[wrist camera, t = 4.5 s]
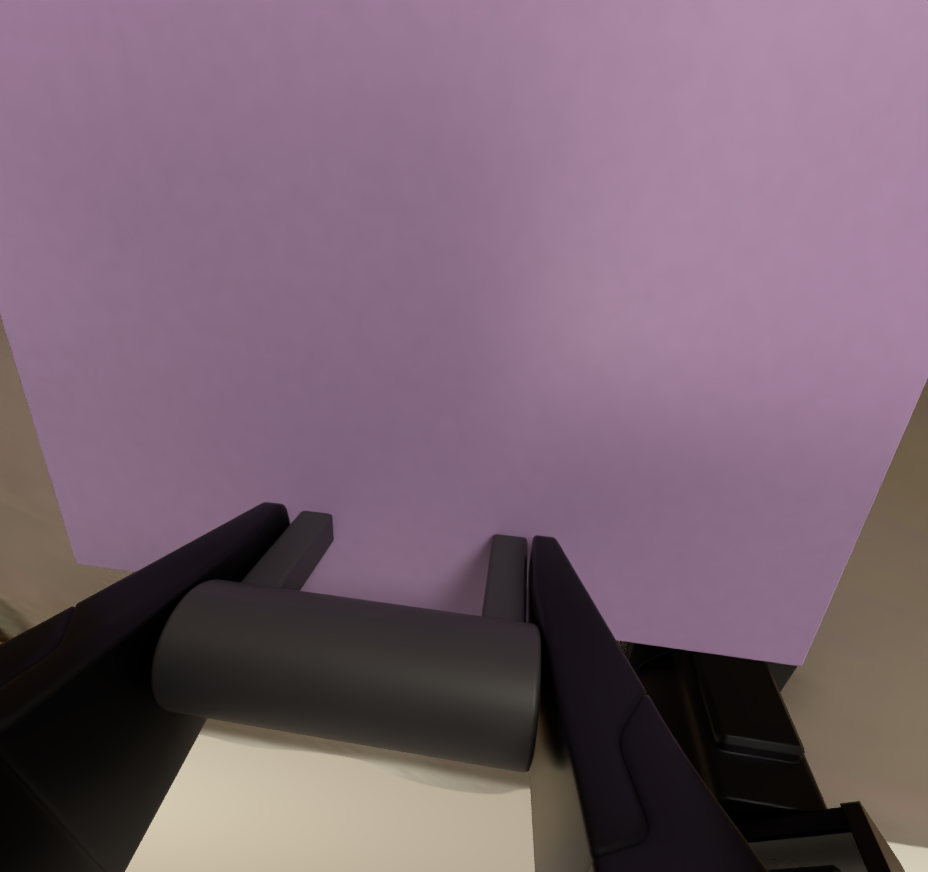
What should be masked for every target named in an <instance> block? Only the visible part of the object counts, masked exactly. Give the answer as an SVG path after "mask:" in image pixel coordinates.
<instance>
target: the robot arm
mask: <svg viewBox="0 0 928 872" xmlns="http://www.w3.org/2000/svg"><path fill="white" fill-rule="evenodd" d="M289 525H290V521H289V516H288V511H287V508H286V506H285V505H283V504H280V503H272V502H264V503H261V504H259V505H257V506H255V507H254V508H252V509H250V510H248V511H246V512H244V513H243V514H241V515H239V516H237V517H235V518H233V519H232V520H230V521H228V522H226V523H224V524H222V525H221V526H219V527H217V528H215V529H213V530H211V531H210V532H208V533H206V534H204V535H202V536H200V537H199V538H197V539H195V540H193V541H191V542H189V543H188V544H186V545H184V546H182V547H180V548H178V549H177V550H175V551H173V552H171V553H169V554H167V555H166V556H164V557H162V558H160V559H158V560H156V561H155V562H153V563H151V564H149V565H147V566H145V567H144V568H142V569H140V570H138V571H136V572H134V573H133V574H131V575H129V576H127V577H125V578H123V579H122V580H120V581H118V582H116V583H114V584H112V585H111V586H109V587H107V588H105V589H103V590H101V591H100V592H98V593H96V594H94V595H92V596H90V597H89V598H87V599H85V600H83V601H81V602H79V603H78V604H77V605H76V607H70V608H68V609H66V610H65V611H63V612H61V613H59V614H57V615H55V616H54V617H52V618H50V619H48V620H46V621H44V622H42V623H40V624H39V625H37V626H35V627H33V628H31V629H29V630H27V631H25V632H23V633H22V634H20V635H18V636H16V637H14V638H12V639H10V640H8V641H6V642H4V643H2V644H0V872H125V870H126V868H127V867H128V865H129V863H130V861H131V859H132V857H133V855H134V854H135V851H136V850H137V848H138V846H139V844H140V842H141V841H142V839H143V837H144V835H145V833H146V831H147V829H148V828H149V825H150V824H151V822H152V820H153V818H154V816H155V814H156V813H157V811H158V809H159V807H160V805H161V803H162V802H163V800H164V798H165V796H166V794H167V792H168V790H169V788H170V787H171V785H172V783H173V781H174V779H175V777H176V776H177V774H178V772H179V770H180V768H181V766H182V764H183V763H184V761H185V759H186V757H187V755H188V753H189V751H190V750H191V748H192V746H193V744H194V742H195V740H196V738H197V737H198V735H199V733H200V731H201V729H202V727H203V725H204V724H205V722H206V720H207V718H204V717H198V716H193V715H187V714H181V713H175V712H169V711H167V710H165V709H163V708H162V707H161V706H160V705H159V704H158V703H157V702H156V700H155V698H154V695H153V692H152V687H151V669H152V662H153V657H154V653H155V649H156V646H157V643H158V640H159V638H160V635H161V632H162V630H163V628H164V626H165V624H166V622H167V620H168V618H169V617H170V615H171V613H172V612H173V610H174V609H175V607H176V606H177V605H178V603H179V602H180V601H181V600H182V598H183V597H184V596H185V595H186V594H187V593H188V592H189V591H190V590H191V589H193V588H194V587H196V586H197V585H199V584H201V583H203V582H205V581H209V580H213V579H220V580H227V581H234V582H241V580H242V579H243V578H244V577H245V576H246V575H247V574H248V572H249V571H250V570H251V569H252V568H253V567H254V565H255V564H256V563H257V562H258V561H259V560H260V559H261V557H262V556H263V555H264V554H265V553H266V552H267V550H268V549H269V548H270V547H271V546H272V545H273V544H274V542H275V541H276V540H277V539H278V538H279V537H280V535H281V534H282V533H283V532H284V531H285V530H286V529H287V527H288V526H289ZM526 623H533V624H535V625H536V626H538V628H539V632H540V637H541V686H540V704H539V717H538V728H537V737H536V745H535V752H534V757H533V762H532V765H531V767H530V769H529V771H530V789H531V805H532V824H533V841H534V858H535V859H534V860H535V872H905V871H904V869H903V867H902V865H901V864H900V862H899V860H898V859H897V857H896V856H895V854H894V853H893V851H892V850H891V848H890V847H889V845H888V844H887V842H886V841H885V839H884V838H883V836H882V835H881V833H880V831H879V830H878V828H877V827H876V825H875V824H874V822H873V821H872V819H871V818H870V816H869V815H868V813H867V812H866V810H865V809H864V807H863V806H862V804H861V803H860V801H856V802H848V803H840V805H841V807H839V808H831V809H827V807H826V804H825V802H824V800H823V797H822V795H821V793H820V790H819V788H818V786H817V783H816V781H815V779H814V776H813V774H812V771H811V769H810V767H809V764H808V762H807V760H806V757H805V755H804V753H805V751H804V747H803V745H802V742H801V740H800V738H799V735H798V733H797V731H796V728H795V726H794V724H793V721H792V719H791V717H790V714H789V712H788V710H787V708H786V705H785V703H784V701H783V698H782V696H781V694H780V692H781V690H782V689H783V687H784V686H785V684H786V683H787V681H788V680H789V678H790V677H791V675H792V674H793V672H794V671H795V669H796V668H797V666H794V665H787V664H780V663H773V662H766V661H758V660H751V659H744V658H737V657H730V656H723V655H716V654H709V653H702V652H695V651H688V650H681V649H674V648H667V647H660V646H653V645H646V644H638V643H631V642H629V645H628V648H627V651H626V654H624V653H623V651H622V649H621V648H620V646H619V644H618V643H617V641H616V639H615V637H614V636H613V634H612V632H611V631H610V629H609V627H608V626H607V624H606V622H605V621H604V619H603V617H602V615H601V614H600V612H599V610H598V609H597V607H596V605H595V604H594V602H593V600H592V598H591V597H590V595H589V593H588V592H587V590H586V588H585V587H584V585H583V583H582V582H581V580H580V578H579V576H578V575H577V573H576V571H575V570H574V568H573V566H572V565H571V563H570V561H569V559H568V558H567V556H566V554H565V553H564V551H563V549H562V548H561V546H560V544H559V542H558V541H557V539H556V538H554V537H549V536H541V535H536V536H534V537H533V541H532V548H531V555H530V562H529V569H528V581H527V611H526Z"/></svg>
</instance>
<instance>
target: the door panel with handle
mask: <svg viewBox="0 0 928 872" xmlns="http://www.w3.org/2000/svg"><path fill="white" fill-rule="evenodd" d="M0 315H1V318H2V322H3V325H4V328H5V332H6V335H7V338H8V341H9V345H10V348H11V351H12V354H13V358H14V361H15V364H16V368H17V371H18V374H19V377H20V381H21V384H22V387H23V390H24V394H25V397H26V400H27V404H28V407H29V410H30V413H31V417H32V420H33V423H34V427H35V430H36V433H37V436H38V440H39V443H40V446H41V449H42V453H43V456H44V459H45V463H46V466H47V469H48V472H49V476H50V479H51V482H52V486H53V489H54V492H55V495H56V499H57V502H58V505H59V508H60V512H61V515H62V518H63V522H64V525H65V528H66V531H67V535H68V538H69V541H70V544H71V548H72V551H73V554H74V558H75V561H76V563H77V564H81V565H88V566H95V567H102V568H109V569H116V570H123V571H130V572H136V571H138V570H140V569H142V568H144V567H145V566H147V565H149V564H151V563H153V562H155V561H156V560H158V559H160V558H162V557H164V556H166V555H167V554H169V553H171V552H173V551H175V550H177V549H178V548H180V547H182V546H184V545H186V544H188V543H189V542H191V541H193V540H195V539H197V538H199V537H200V536H202V535H204V534H206V533H208V532H210V531H211V530H213V529H215V528H217V527H219V526H221V525H222V524H224V523H226V522H228V521H230V520H232V519H233V518H235V517H237V516H239V515H241V514H243V513H244V512H246V511H248V510H250V509H252V508H254V507H255V506H257V505H259V504H261V503H264V502H272V503H280V504H283V505H285V506H286V508H287V511H288V516H289V521H290V525H289V526H288V527H287V529H286V530H285V531H284V532H283V533H282V534H281V535H280V537H279V538H278V539H277V540H276V541H275V542H274V544H273V545H272V546H271V547H270V548H269V549H268V550H267V552H266V553H265V554H264V555H263V556H262V557H261V559H260V560H259V561H258V562H257V563H256V564H255V565H254V567H253V568H252V569H251V570H250V571H249V572H248V574H247V575H246V576H245V577H244V578H243V579H242V580H241V582H234V581H227V580H220V579H213V580H209V581H205V582H203V583H201V584H199V585H197V586H196V587H194V588H193V589H191V590H190V591H189V592H188V593H187V594H186V595H185V596H184V597H183V598H182V600H181V601H180V602H179V603H178V605H177V606H176V607H175V609H174V610H173V612H172V613H171V615H170V617H169V618H168V620H167V622H166V624H165V626H164V628H163V630H162V632H161V635H160V638H159V640H158V643H157V646H156V649H155V653H154V657H153V662H152V669H151V687H152V692H153V695H154V698H155V700H156V702H157V703H158V704H159V705H160V706H161V707H162V708H163V709H165V710H167V711H169V712H175V713H181V714H187V715H193V716H198V717H204V718H210V719H216V720H222V721H227V722H233V723H239V724H245V725H251V726H256V727H262V728H268V729H274V730H280V731H285V732H291V733H297V734H303V735H309V736H314V737H320V738H326V739H332V740H338V741H343V742H349V743H355V744H361V745H367V746H372V747H378V748H384V749H390V750H396V751H401V752H407V753H413V754H419V755H425V756H430V757H436V758H442V759H448V760H454V761H459V762H465V763H471V764H477V765H483V766H488V767H494V768H500V769H506V770H512V771H517V772H523V773H524V772H527V771H529V769H530V767H531V765H532V762H533V757H534V752H535V745H536V737H537V728H538V717H539V704H540V686H541V637H540V632H539V628H538V626H536V625H535V624H533V623H526V611H527V581H528V569H529V562H530V555H531V548H532V541H533V537H534V536H536V535H541V536H549V537H554V538H556V539H557V541H558V542H559V544H560V546H561V548H562V549H563V551H564V553H565V554H566V556H567V558H568V559H569V561H570V563H571V565H572V566H573V568H574V570H575V571H576V573H577V575H578V576H579V578H580V580H581V582H582V583H583V585H584V587H585V588H586V590H587V592H588V593H589V595H590V597H591V598H592V600H593V602H594V604H595V605H596V607H597V609H598V610H599V612H600V614H601V615H602V617H603V619H604V621H605V622H606V624H607V626H608V627H609V629H610V631H611V632H612V634H613V636H614V637H615V639H616V640H617V641H624V642H631V643H638V644H646V645H653V646H660V647H667V648H674V649H681V650H688V651H695V652H702V653H709V654H716V655H723V656H730V657H737V658H744V659H751V660H758V661H766V662H773V663H780V664H787V665H794V666H802V665H803V663H804V661H805V658H806V656H807V654H808V651H809V649H810V647H811V645H812V642H813V640H814V638H815V635H816V633H817V631H818V629H819V626H820V624H821V622H822V619H823V617H824V615H825V612H826V610H827V608H828V606H829V603H830V601H831V599H832V596H833V594H834V592H835V590H836V587H837V585H838V583H839V580H840V578H841V576H842V573H843V571H844V569H845V567H846V564H847V562H848V560H849V557H850V555H851V553H852V551H853V548H854V546H855V544H856V541H857V539H858V537H859V534H860V532H861V530H862V528H863V525H864V523H865V521H866V518H867V516H868V514H869V512H870V509H871V507H872V505H873V502H874V500H875V498H876V495H877V493H878V491H879V489H880V486H881V484H882V482H883V479H884V477H885V475H886V473H887V470H888V468H889V466H890V463H891V461H892V459H893V457H894V454H895V452H896V450H897V447H898V445H899V443H900V440H901V438H902V436H903V434H904V431H905V429H906V427H907V424H908V422H909V420H910V418H911V415H912V413H913V411H914V408H915V406H916V404H917V401H918V399H919V397H920V395H921V392H922V390H923V388H924V385H925V383H926V381H927V379H928V0H0Z"/></svg>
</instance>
